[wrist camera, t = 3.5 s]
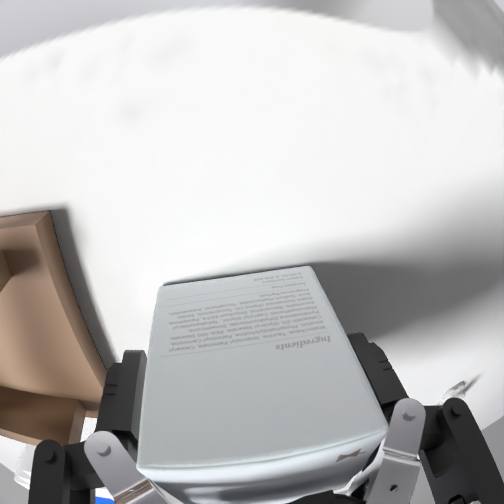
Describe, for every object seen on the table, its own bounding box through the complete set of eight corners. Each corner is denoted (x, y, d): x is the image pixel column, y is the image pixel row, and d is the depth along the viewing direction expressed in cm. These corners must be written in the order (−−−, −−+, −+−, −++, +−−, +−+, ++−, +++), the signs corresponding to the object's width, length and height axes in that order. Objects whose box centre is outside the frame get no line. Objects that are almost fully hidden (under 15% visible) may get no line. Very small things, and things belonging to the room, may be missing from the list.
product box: (155, 280, 11) (128, 469, 5) (313, 260, 12) (400, 427, 5) (188, 377, 14) (193, 514, 8) (306, 360, 15) (349, 489, 8)
